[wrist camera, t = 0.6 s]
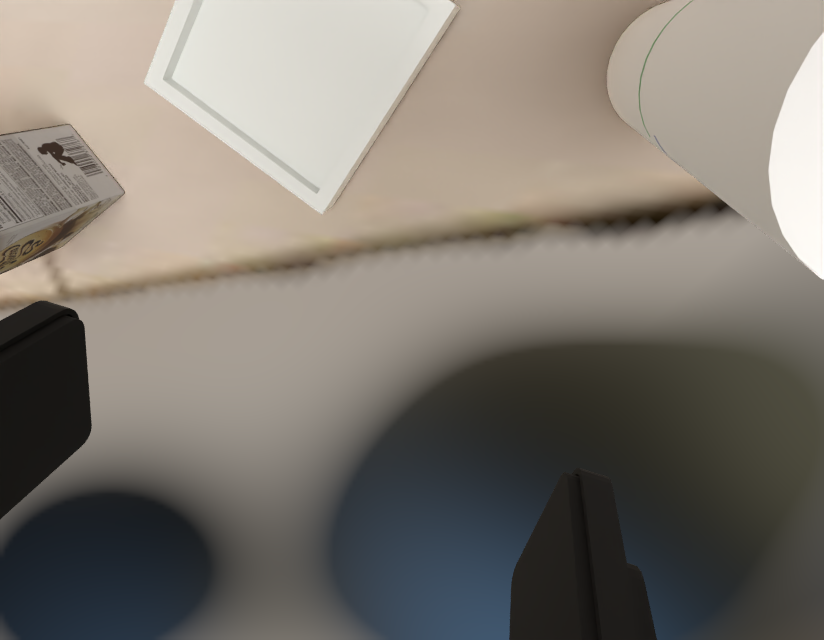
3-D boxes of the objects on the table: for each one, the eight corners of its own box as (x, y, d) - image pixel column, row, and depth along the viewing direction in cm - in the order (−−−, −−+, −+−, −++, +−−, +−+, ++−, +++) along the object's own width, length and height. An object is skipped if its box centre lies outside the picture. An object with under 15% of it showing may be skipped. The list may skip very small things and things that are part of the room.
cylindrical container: (657, 159, 34) (896, 370, 12) (580, 73, 33) (689, 133, 11) (767, 66, 31) (1368, 120, 9) (687, -33, 29) (1155, -264, 7)
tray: (262, -157, 30) (241, -172, 28) (460, 7, 32) (455, 5, 30) (166, 80, 37) (143, 82, 35) (333, 205, 39) (321, 214, 37)
